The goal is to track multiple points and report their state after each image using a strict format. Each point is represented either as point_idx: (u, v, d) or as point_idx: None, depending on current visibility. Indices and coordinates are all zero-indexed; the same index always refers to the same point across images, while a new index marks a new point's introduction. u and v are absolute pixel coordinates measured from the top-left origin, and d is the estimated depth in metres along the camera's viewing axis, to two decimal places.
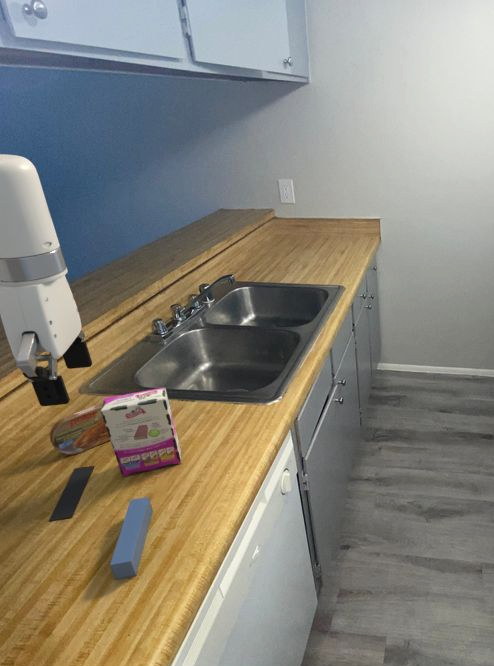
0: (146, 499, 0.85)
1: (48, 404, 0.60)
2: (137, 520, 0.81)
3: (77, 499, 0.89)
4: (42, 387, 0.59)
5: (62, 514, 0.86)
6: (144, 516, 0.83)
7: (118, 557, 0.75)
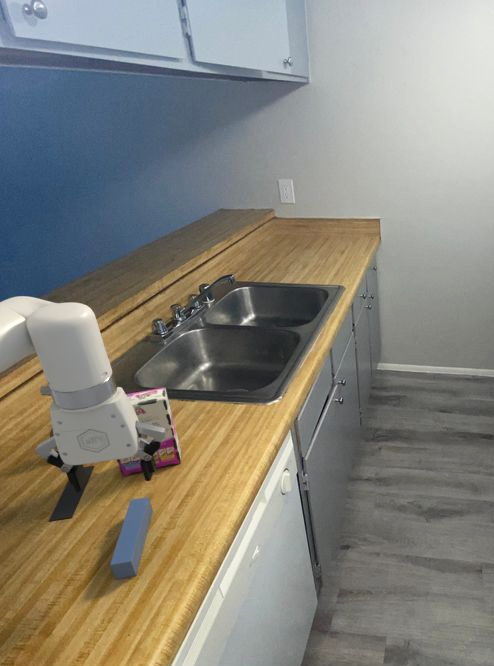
0: (146, 499, 0.85)
1: (151, 476, 0.75)
2: (137, 520, 0.81)
3: (77, 499, 0.89)
4: (152, 460, 0.74)
5: (62, 514, 0.86)
6: (144, 516, 0.83)
7: (118, 557, 0.75)
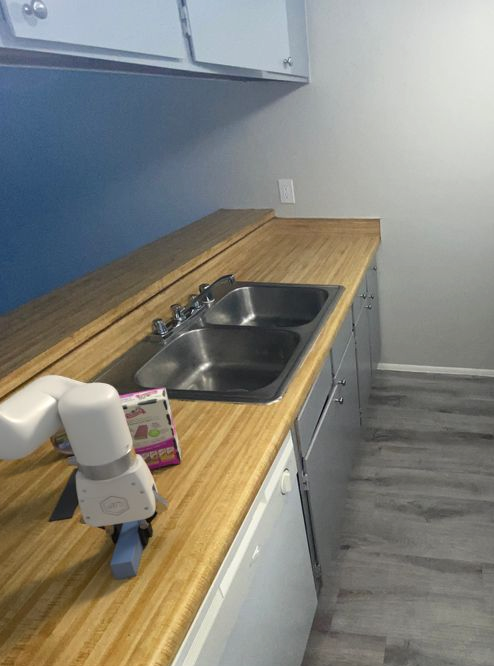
0: None
1: (147, 541, 0.81)
2: None
3: (77, 499, 0.89)
4: (149, 527, 0.80)
5: (62, 514, 0.86)
6: None
7: (118, 557, 0.75)
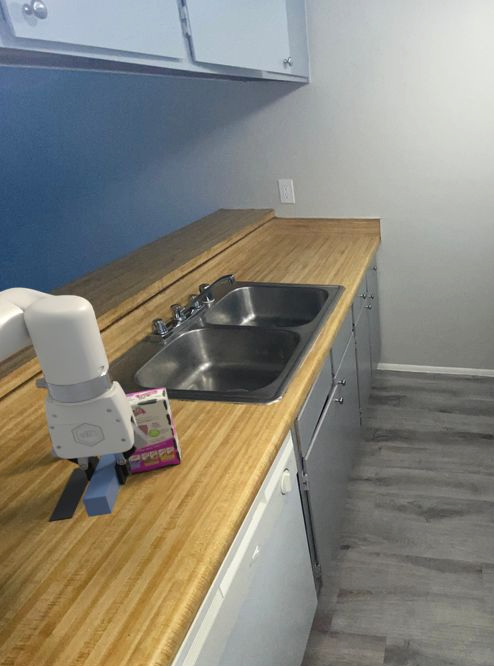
0: None
1: (125, 480, 0.75)
2: (114, 458, 0.75)
3: (77, 499, 0.89)
4: (127, 464, 0.74)
5: (62, 514, 0.86)
6: None
7: (91, 492, 0.68)
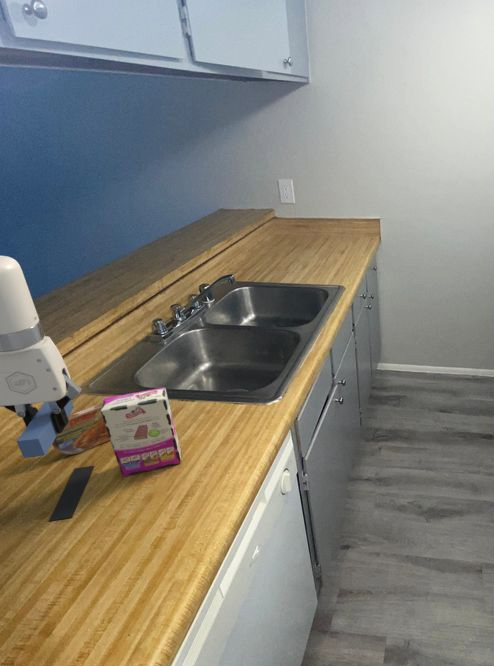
0: None
1: (62, 429, 0.82)
2: None
3: (77, 499, 0.89)
4: (62, 414, 0.82)
5: (62, 514, 0.86)
6: None
7: (26, 435, 0.76)
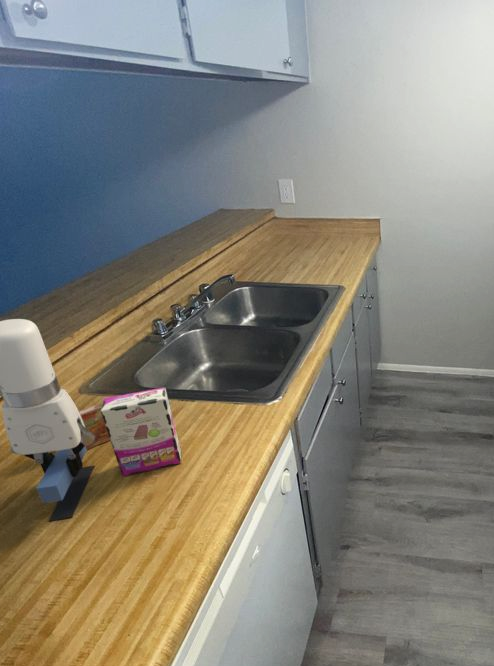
0: None
1: (77, 473, 0.88)
2: None
3: (77, 499, 0.89)
4: (77, 459, 0.87)
5: (62, 514, 0.86)
6: None
7: (45, 482, 0.82)
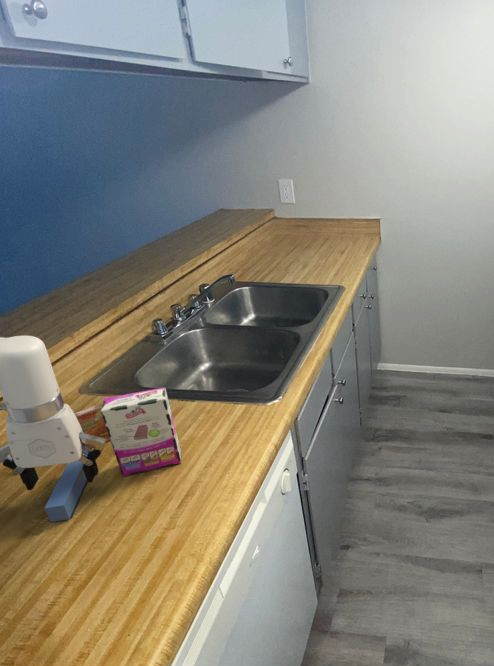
0: None
1: (93, 478, 0.90)
2: (74, 473, 0.90)
3: None
4: (94, 465, 0.89)
5: None
6: (81, 470, 0.92)
7: (52, 502, 0.84)
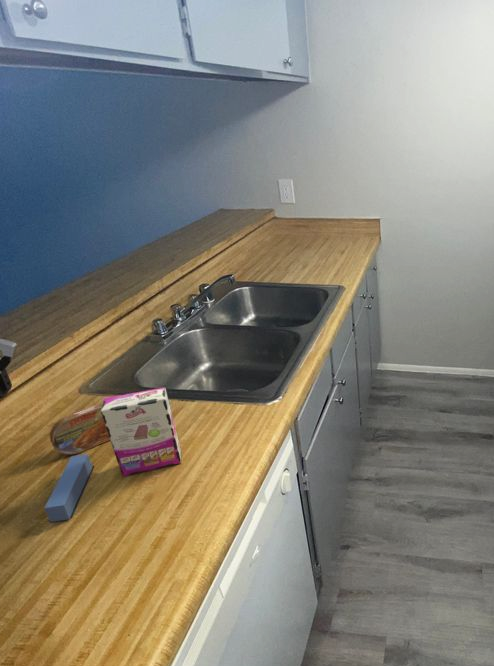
0: (85, 456, 0.95)
1: (4, 394, 0.73)
2: (74, 473, 0.90)
3: None
4: (4, 377, 0.72)
5: None
6: (81, 470, 0.92)
7: (52, 502, 0.84)
